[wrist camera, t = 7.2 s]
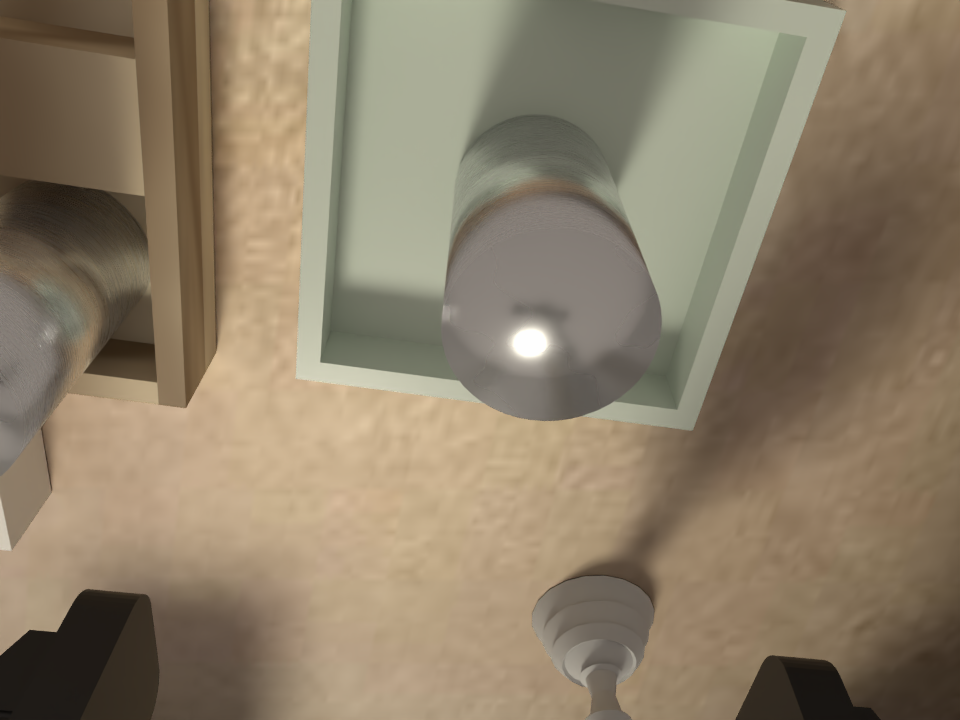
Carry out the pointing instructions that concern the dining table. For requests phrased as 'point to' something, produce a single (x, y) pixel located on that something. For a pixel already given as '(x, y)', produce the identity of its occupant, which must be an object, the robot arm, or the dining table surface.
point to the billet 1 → (59, 296)
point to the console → (23, 492)
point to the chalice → (595, 635)
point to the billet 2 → (544, 275)
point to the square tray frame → (566, 95)
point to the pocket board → (124, 163)
